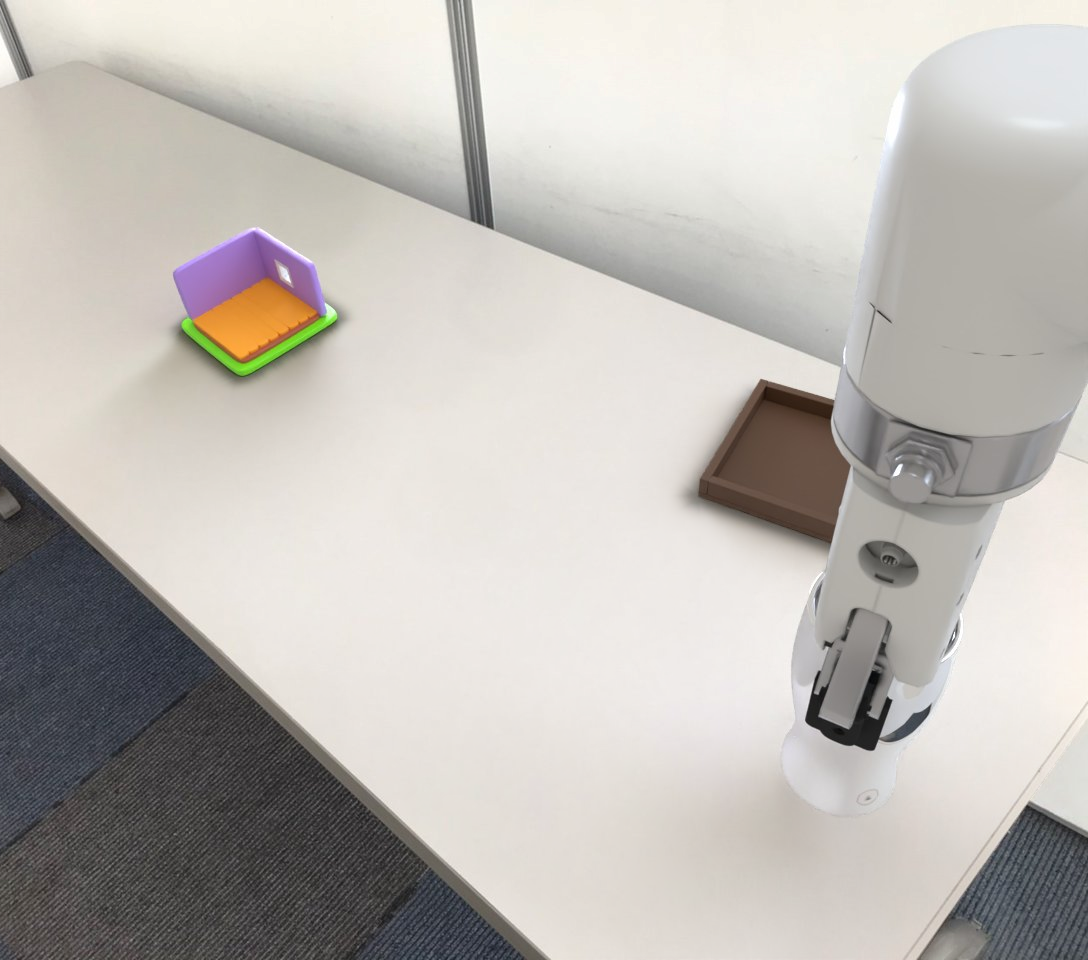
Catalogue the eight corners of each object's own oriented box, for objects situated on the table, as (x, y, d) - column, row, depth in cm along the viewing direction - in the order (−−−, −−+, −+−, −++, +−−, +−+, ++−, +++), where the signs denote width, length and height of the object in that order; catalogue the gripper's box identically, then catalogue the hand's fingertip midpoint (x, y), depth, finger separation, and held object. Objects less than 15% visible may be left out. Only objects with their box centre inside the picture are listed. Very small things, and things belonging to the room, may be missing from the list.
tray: (913, 442, 76) (919, 423, 74) (863, 554, 69) (868, 536, 68) (757, 396, 81) (760, 378, 80) (697, 496, 75) (699, 478, 73)
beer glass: (822, 689, 58) (863, 527, 47) (930, 768, 54) (1001, 610, 43) (746, 764, 56) (770, 612, 45) (853, 852, 52) (908, 708, 41)
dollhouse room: (275, 272, 102) (257, 215, 97) (342, 318, 95) (328, 259, 90) (178, 328, 98) (154, 271, 93) (241, 380, 91) (220, 322, 86)
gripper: (1004, 621, 29) (892, 862, 41) (1112, 288, 38) (993, 570, 50) (754, 535, 32) (723, 781, 45) (908, 249, 41) (845, 522, 54)
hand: (866, 668), depth 48 cm, fingers closed on beer glass, 7 cm apart
